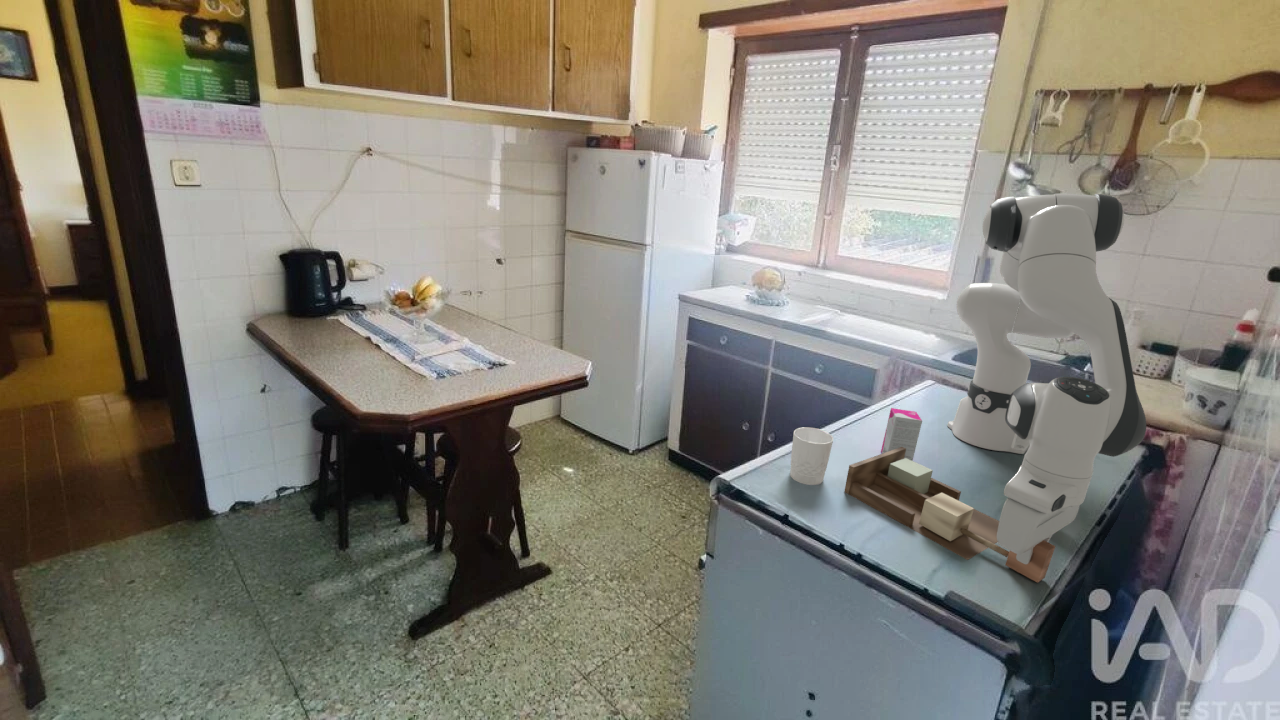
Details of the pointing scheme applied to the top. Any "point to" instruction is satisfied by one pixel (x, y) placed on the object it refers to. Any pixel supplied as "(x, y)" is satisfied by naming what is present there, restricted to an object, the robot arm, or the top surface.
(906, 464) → the sage block
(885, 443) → the supplement box
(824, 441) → the white cup
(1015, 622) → the top surface
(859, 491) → the walnut rack
